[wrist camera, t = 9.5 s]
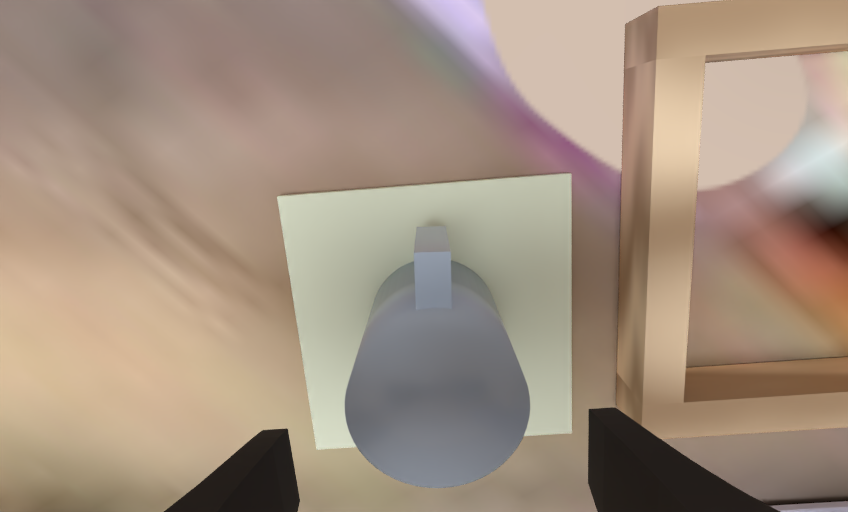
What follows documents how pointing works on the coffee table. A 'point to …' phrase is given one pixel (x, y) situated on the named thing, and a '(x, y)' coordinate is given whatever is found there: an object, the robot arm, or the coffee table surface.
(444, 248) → the grey rounded cylinder
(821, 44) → the frame
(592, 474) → the robot arm
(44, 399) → the coffee table surface
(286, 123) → the coffee table surface
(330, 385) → the sage mat
